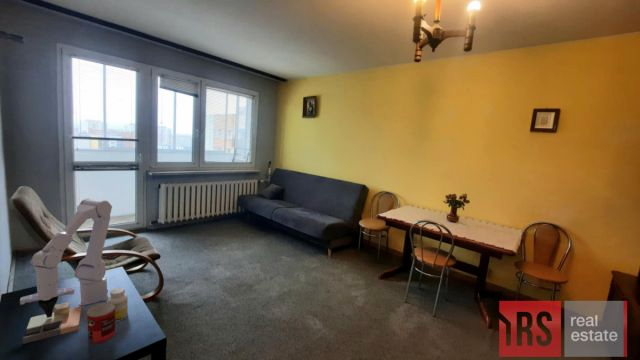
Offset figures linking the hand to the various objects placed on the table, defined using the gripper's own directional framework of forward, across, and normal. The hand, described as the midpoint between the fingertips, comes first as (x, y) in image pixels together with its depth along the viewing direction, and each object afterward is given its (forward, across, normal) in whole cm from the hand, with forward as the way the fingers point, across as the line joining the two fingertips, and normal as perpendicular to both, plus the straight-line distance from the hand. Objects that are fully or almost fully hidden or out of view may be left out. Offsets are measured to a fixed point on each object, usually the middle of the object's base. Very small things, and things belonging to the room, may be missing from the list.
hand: (49, 315), depth 108 cm
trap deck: (+3, +2, -3) cm, 5 cm away
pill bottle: (+3, +21, -8) cm, 23 cm away
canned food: (+3, +16, -18) cm, 24 cm away
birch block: (+1, +3, 0) cm, 4 cm away
